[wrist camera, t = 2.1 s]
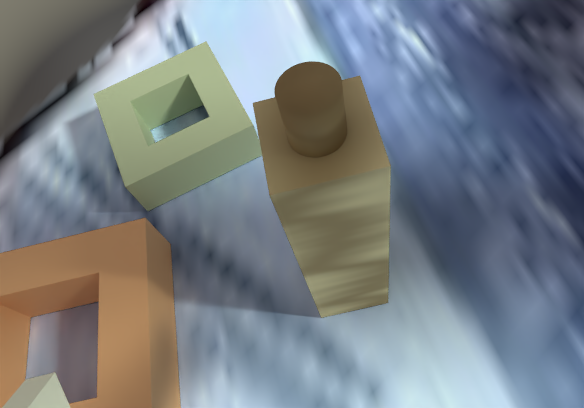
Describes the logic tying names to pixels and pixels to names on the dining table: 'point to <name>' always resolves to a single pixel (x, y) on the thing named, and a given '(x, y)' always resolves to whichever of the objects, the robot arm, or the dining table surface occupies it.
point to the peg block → (329, 184)
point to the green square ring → (186, 143)
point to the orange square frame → (112, 310)
